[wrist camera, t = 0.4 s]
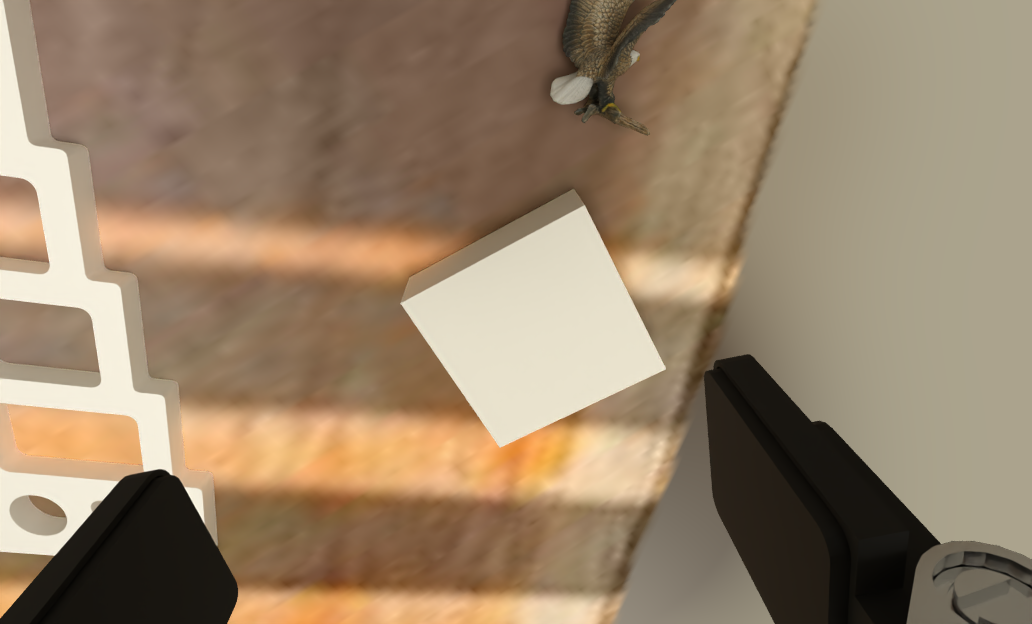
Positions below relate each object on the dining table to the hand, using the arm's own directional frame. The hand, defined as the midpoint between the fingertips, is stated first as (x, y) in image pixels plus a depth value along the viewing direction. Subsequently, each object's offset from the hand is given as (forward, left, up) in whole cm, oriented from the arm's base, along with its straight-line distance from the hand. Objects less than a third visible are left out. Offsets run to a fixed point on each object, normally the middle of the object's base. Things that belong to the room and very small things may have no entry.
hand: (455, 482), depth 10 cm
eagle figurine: (-2, +11, -34) cm, 36 cm away
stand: (+12, -2, -33) cm, 36 cm away
